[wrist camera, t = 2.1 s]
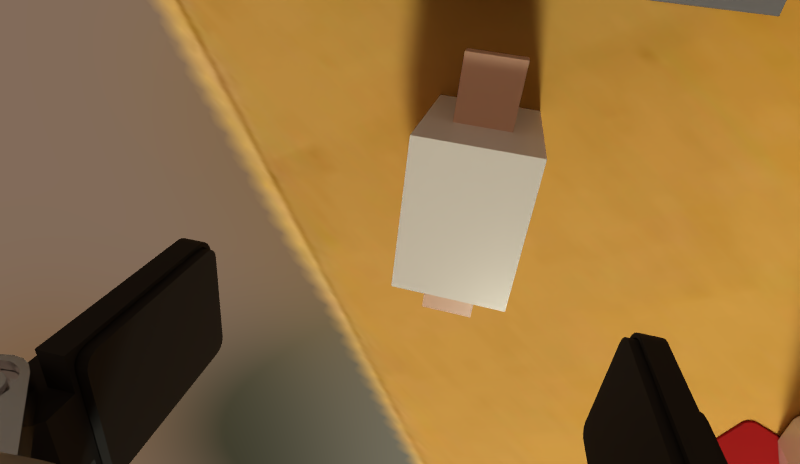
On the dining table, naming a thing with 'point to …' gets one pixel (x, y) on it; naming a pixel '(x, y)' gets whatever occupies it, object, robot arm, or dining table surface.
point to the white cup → (790, 444)
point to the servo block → (470, 188)
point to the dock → (737, 5)
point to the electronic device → (749, 444)
